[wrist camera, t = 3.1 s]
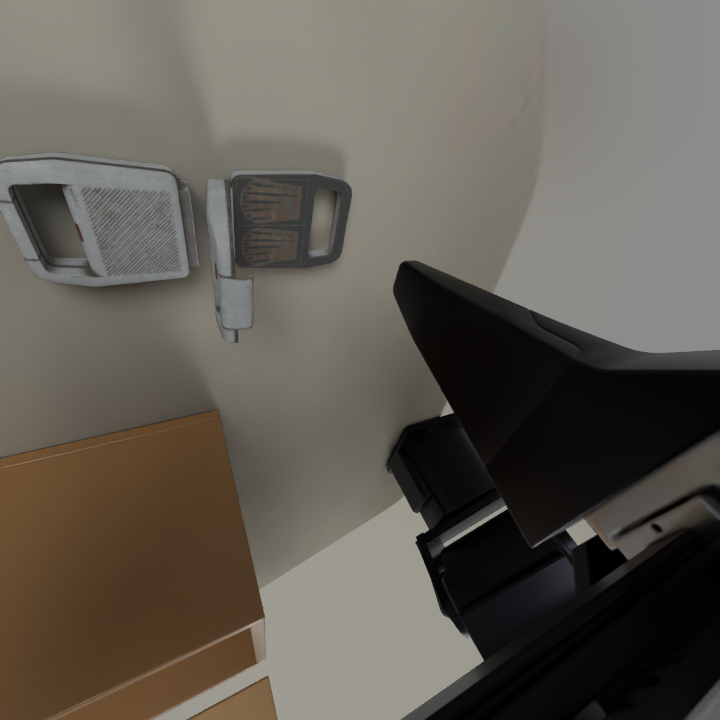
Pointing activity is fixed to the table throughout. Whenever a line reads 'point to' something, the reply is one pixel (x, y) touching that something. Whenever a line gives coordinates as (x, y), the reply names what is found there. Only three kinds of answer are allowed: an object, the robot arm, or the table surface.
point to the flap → (243, 705)
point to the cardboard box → (124, 575)
